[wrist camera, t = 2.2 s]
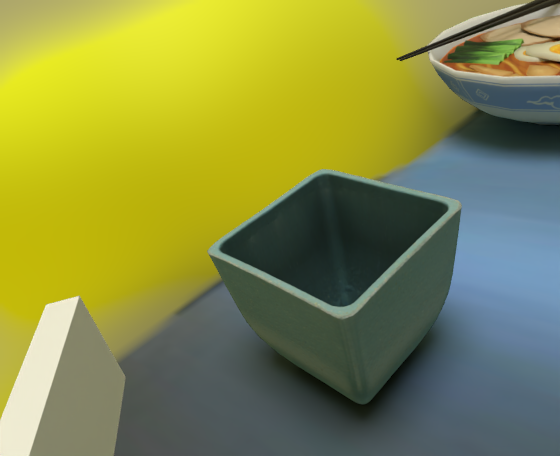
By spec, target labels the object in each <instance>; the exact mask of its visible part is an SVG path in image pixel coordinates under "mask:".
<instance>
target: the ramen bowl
mask: <svg viewBox="0 0 560 456" xmlns="http://www.w3.org/2000/svg"><path fill="white" fill-rule="evenodd" d="M427 51H428V54H429V60H430V61H431V63H432V65H433V66H434V68H435V70H436V72H437V73H438V75H439V76H440V77H441V78H442V80H443V81H444V82H445V83H446V84H447V86H448V87H449V88H450V89H451V90H452V91H453V92H454V93H455V94H457V95H458V96H459V97H460V98H461V99H462V100H464V101H466V102H468V103H469V104H471V105H473V106H475V107H476V108H478V109H480V110H482V111H484V112H486V113H488V114H491V115H493V116H498V117H503V118H508V119H513V120H518V121H523V122H531V123H535V124H540V125H560V0H535V1H533V2H530V3H527V4H521V5H515V6H511V7H507V8H504V9H500V10H497V11H493V12H490V13H487V14H483V15H480V16H476V17H473V18H470V19H468V20H466V21H464V22H462V23H459V24H457V25H455V26H453V27H451V28H449V29H446V30H444V31H443V32H441V33H440V34H439V35H438V36H437V37H436V38H435V39H434V40H433V41H431V42H430V44H428V45H427V46H425V47H423V48H421V49H418V50H416V51H414V52H411V53H409V54H406V55H404V56H402V57H399V58H397V60H399V59H400V61H402V60H405V59H408V58H410V57H413V56H416V55H419V54H422V53H424V52H427ZM409 55H410V56H409ZM404 57H405V58H404Z"/></svg>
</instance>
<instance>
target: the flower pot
mask: <svg viewBox="0 0 560 456" xmlns="http://www.w3.org/2000/svg"><path fill="white" fill-rule="evenodd" d="M461 206H462V205H461V203H460V202H459V201H457V200H454V199H451V198H447V197H443V196H439V195H435V194H430V193H425V192H422V191H417V190H413V189H408V188H404V187H401V186H396V185H392V184H388V183H384V182H379V181H376V180H371V179H367V178H363V177H360V176H354V175H350V174H346V173H342V172H339V171H333V170H326V169H322V170H319V171H317V172H315V173H314V174H312V175H310V176H308V177H307V178H305V179H304V180H303V181H301V182H300V183H298V184H297V185H296V186H295V187H294V188H292V189H290V190H289V191H288V192H287V193H285V194H284V195H283V196H281V197H280V198H279V199H277V200H275V201H274V202H273V203H271V204H270V205H269V206H267V207H266V208H264V209H263V210H262V211H260V212H259V213H257V214H255V215H254V216H253V217H251V218H250V219H249V220H247V221H245V222H243V223H242V224H241V225H240V226H238V227H237V228H235V229H234V230H232V231H231V232H230V233H228V234H226V235H225V236H224V237H222V238H221V239H220V240H218V241H217V242H216V243H214V245H212V246H211V247H210V249H209V250H208V254H209V255H210V257H211V259H212V261H213V263H214V264H215V266H216V268H217V270H218V272H219V274H220V276H221V278H222V279H223V281H224V283H225V285H226V287H227V289H228V290H229V292H230V294H231V296H232V298H233V299H234V301H235V303H236V305H237V307H238V308H239V310H240V312H241V314H242V315H243V317H244V318H245V320H246V321H247V323H248V324H249V325H250V326H251V328H252V329H253V330H254V331H255V332H256V334H257V335H258V336H259V337H260V338H261V339H262V340H263V341H265V342H266V343H267V344H268V345H269V346H270V347H271V348H273V349H274V350H275V351H276V352H278V353H279V354H280V355H282V356H283V357H285V358H286V359H288V360H289V361H291V362H292V363H293V364H295V365H296V366H298V367H300V368H301V369H303V370H305V371H306V372H308V373H309V374H311V375H312V376H314V377H316V378H317V379H319V380H321V381H322V382H324V383H325V384H327V385H329V386H330V387H332V388H333V389H335V390H336V391H338V392H340V393H341V394H343V395H344V396H346V397H347V398H349V399H351V400H352V401H354V402H356V403H358V404H366V403H368V402H370V401H371V400H372V398H373V397H374V396H375V395H376V394H377V392H378V391H379V390H380V389H381V388H382V387H383V385H384V384H385V383H386V382H387V381H388V379H389V378H390V377H391V376H392V375H393V373H394V372H395V371H396V370H397V369H398V368H399V366H400V365H401V364H402V363H403V362H404V361H405V359H406V358H407V357H408V356H409V355H410V354H411V353H412V351H413V350H414V349H415V348H416V347H417V345H418V344H419V343H420V341H421V340H422V339H423V338H424V336H425V335H426V334H427V332H428V331H429V330H430V328H431V327H432V325H433V324H434V322H435V320H436V319H437V317H438V315H439V313H440V311H441V309H442V307H443V305H444V303H445V300H446V297H447V295H448V292H449V288H450V284H451V279H452V274H453V267H454V260H455V253H456V246H457V238H458V231H459V223H460V214H461Z"/></svg>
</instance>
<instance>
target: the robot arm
mask: <svg viewBox="0 0 560 456" xmlns="http://www.w3.org/2000/svg"><path fill="white" fill-rule="evenodd" d="M125 378H126V377H125V375H124V374H123V372H122V370H121V368H120V366H119V365H118V363H117V361H116V359H115V358H114V356H113V354H112V352H111V351H110V349H109V347H108V345H107V344H106V342H105V340H104V338H103V337H102V335H101V333H100V331H99V329H98V328H97V326H96V324H95V322H94V321H93V319H92V317H91V315H90V314H89V312H88V310H87V308H86V307H85V305H84V303H83V301H82V300H81V298H80V296H77V297H74V298H70V299H67V300H63V301H59V302H55V303H51V304H47V305H46V307H45V309H44V312H43V314H42V317H41V319H40V322H39V324H38V327H37V329H36V332H35V334H34V337H33V339H32V342H31V344H30V347H29V349H28V352H27V355H26V357H25V359H24V362H23V364H22V367H21V370H20V372H19V375H18V378H17V380H16V382H15V385H14V387H13V390H12V392H11V395H10V397H9V400H8V402H7V405H6V408H5V410H4V412H3V415H2V417H1V420H0V456H114V450H115V443H116V437H117V430H118V424H119V417H120V411H121V404H122V398H123V391H124V385H125Z"/></svg>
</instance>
